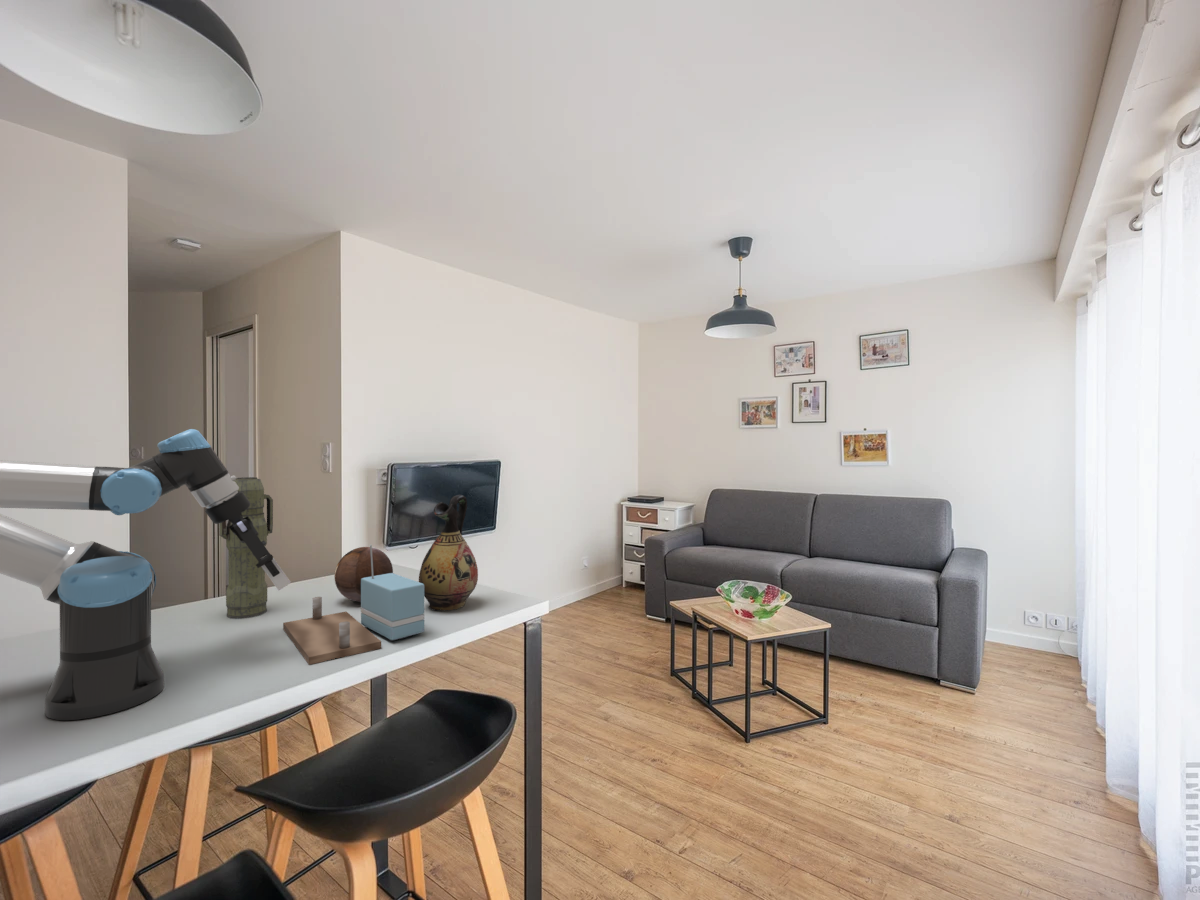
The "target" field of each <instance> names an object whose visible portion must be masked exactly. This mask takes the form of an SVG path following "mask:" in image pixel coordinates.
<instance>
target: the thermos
mask: <svg viewBox="0 0 1200 900" xmlns="http://www.w3.org/2000/svg"><path fill="white" fill-rule="evenodd" d="M234 482H236V484H237V485H238V487H239V489H238V490H237V491H241V492H243V493H244V495H245V496H246V498H247V499H248V500H249V502H250V507H249V508H248V509H246V510H245V511H243V512H241V514H242V516H243V518H245V517H247V516H248V517H249V519H250V520H251V521H252V523H253V526H254V528H255V529H256V531H257V532H258V538H259V539H260V541H261V542H262V541H265V542H266V545H267V544H268V536H269V535H270V534H272V533H273V527H274V519H273V518H274V499H273V498H272V497H271V495H269V494H265V488H264V485H263V482H262V480H261V478H258V477H255V476H253V477H251V476H249V477H248V476H247V477H245V476H243V477H236V479H235V480H234ZM265 500H266V519H265V512H264V508H265ZM230 525H232V523H231V522H230V521H229V520H226V521H225V522H222V523H219V525H218V526H219V529H218V530H219V535H218V536H220V537H221V538H222V539H225V541H226V543H225V547H226V548H227V550H228V584H227V587H226V590H225V606H226V609H227V610H226V617H227V618H229V619H238V620H239V619H247V618H253V617H257V616H258V617H259V616H261V615H263V614H265V613H266V612H267V611H268V608H267V602H268V584H267V581H266V573H265V571H264V570H263V568H262V567H259V568H258V567H257V566H256V564H258V560H257V559H256V557H255V556H254V555H253V553H252V552H251V550H250V549H249V548H248V546H247V545H246V543H242V542H241V541H240V540H239V538H238V537H237V535H234V533H233V532H232V531H231V529H230V528H229V526H230ZM266 545H264V546H265V547H266Z"/></svg>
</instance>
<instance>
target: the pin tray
mask: <svg viewBox="0 0 1200 900" xmlns="http://www.w3.org/2000/svg"><path fill="white" fill-rule="evenodd" d="M282 630H283V631H284V632H285V634H286V635H287V637H288V638H289V640H290V641H291V643H293V644H294V646H295V648H297V650H298V652H299V653H300V655H301V656H302V657H303V659H304V660H305V661H306V662H307V664H308V665H309V666H310V665H315V664H319V663H322V662H327V660H328V661H331V659H332V660H336V659H335V658H337V659H341V658H345V656H346V657H349V656H353V655H358V654H362V653H367V652H371V651H376V650H379V649H382V641H381V639H379V638H378V637H377V636H376V635H375V634H373V633H372V632H371V631H370V629H367V628H366V627H365V626H364V625H362V624H361V622H359V621H358V620H357V619H356V618H355V617H354V616H353V615H351V614H350V613H349V612H347V611H342V612H337V613H329V614H325V615H323V597H322V596H314V597H312V617H308V618H301V619H296V620H291V621H285V622H282ZM340 657H341V658H340Z"/></svg>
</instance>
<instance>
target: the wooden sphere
mask: <svg viewBox="0 0 1200 900" xmlns="http://www.w3.org/2000/svg"><path fill="white" fill-rule="evenodd" d="M372 558H373V575H374V576H377V575H383V574H388V573H394V568H393V564H392V562H391V559H390V558H389V557H388V555H387V554H386V553H385V552H384V551H382V550H380V549H378V548H376V547H373V546H372ZM334 570H335V571H334V583H335V586H336V588H337V590H338V592H339V593H340V594H341V595H342V596H343V597H344V598H345V599H348V600H350V601H353V602H359V603H361V579H362V578H366V577H371V576H372V570H371V553H370V546H361V547H357V548H354V549H352V550H350V551H348V552H347V553H345V555H343V556H342V557H341V559H340V560H339V561H338V563H337V564H336V567H335V569H334Z"/></svg>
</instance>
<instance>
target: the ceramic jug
mask: <svg viewBox="0 0 1200 900" xmlns="http://www.w3.org/2000/svg"><path fill="white" fill-rule="evenodd" d="M467 509H468V500H467V497H466V496H465V495H462V494H457V495H453V496H452V497H451V498H450V500H449V504H447V503H445V502H443V501H440V502H438V503H437V504H436V505H435V507H434V508H433V514H434V515H435V516H436V517H438V518H440V519H442V520H444V522H445V523H444V528H443V529H442V530H441V531H440V534H439V535H438V536H437V537H436V539H435V540H434V541H433V543H432V545H431V546H430V548H429V549H428V551H427V552H426V554H425V556H424V557H423V560H422V563H421V566H420V569H419V570H420V571H419V574H418V582H420V583H422V584H424V599H426V601H427V603H428V604H429V605H428V607H429V609H430V610H432V609H433V610H434V611H444V610H445V611H446V610H448V611H454V610H453V609H455V610H458V609H461V608H463V607H464V606H465V605H466V601H467V600H468V599H469V597H470V595H471V594H472V593H473V592H474V590H475V589H476V588H477V585H478V580H479V579H478V578H479V568H478V565H477V560H476V557H475V555H474V553H473V551H472V549H471V547H470V546H469V544H468V543H467V541H466V539H465V538H464V537H463V535H462V534H463V527H464V521H465V518H466V514H467ZM433 610H432V611H433ZM445 611H444V612H445Z"/></svg>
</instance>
